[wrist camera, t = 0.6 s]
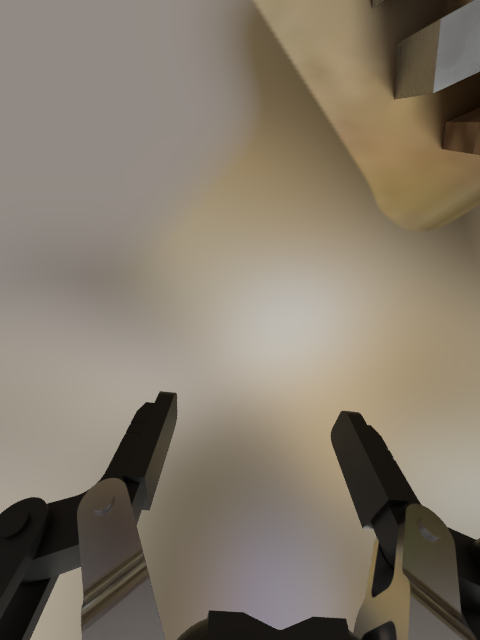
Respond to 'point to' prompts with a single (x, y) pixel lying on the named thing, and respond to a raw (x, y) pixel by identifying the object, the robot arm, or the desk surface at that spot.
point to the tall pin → (376, 2)
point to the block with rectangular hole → (463, 133)
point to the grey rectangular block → (439, 53)
